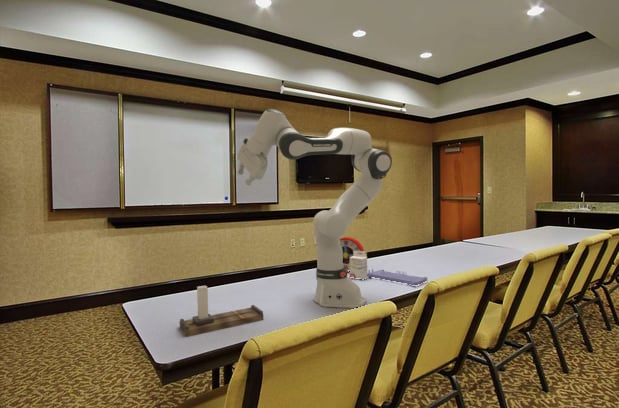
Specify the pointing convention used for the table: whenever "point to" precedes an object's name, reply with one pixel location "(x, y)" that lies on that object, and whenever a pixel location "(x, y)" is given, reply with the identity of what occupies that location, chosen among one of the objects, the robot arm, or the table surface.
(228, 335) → the table surface
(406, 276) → the computer part
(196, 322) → the fader tab
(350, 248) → the toy clock
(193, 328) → the fader track
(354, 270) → the ink cartridge box
